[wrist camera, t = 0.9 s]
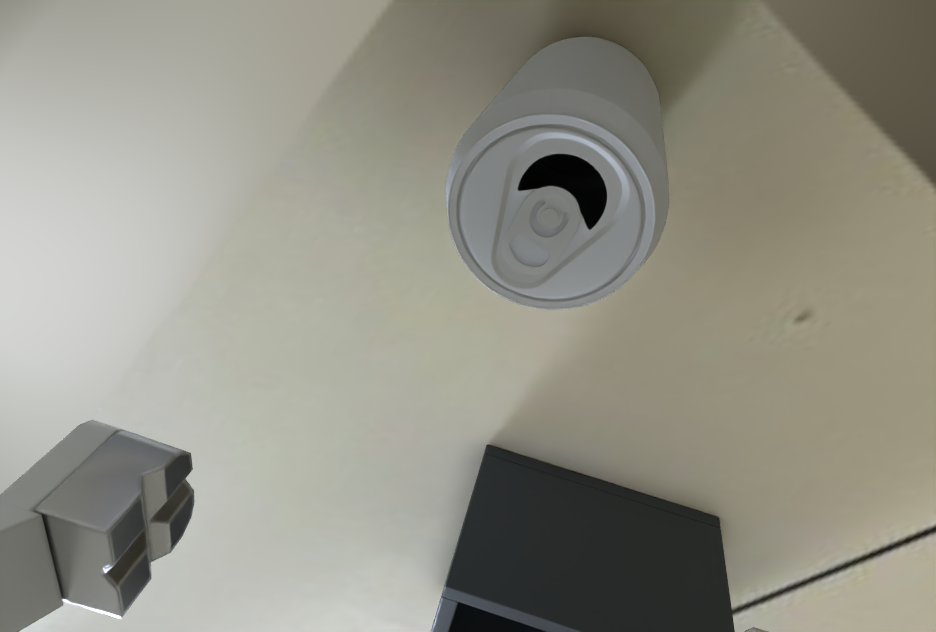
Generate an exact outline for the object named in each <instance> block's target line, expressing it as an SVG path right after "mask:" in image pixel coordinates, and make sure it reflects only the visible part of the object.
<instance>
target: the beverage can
mask: <svg viewBox="0 0 936 632" xmlns="http://www.w3.org/2000/svg"><path fill="white" fill-rule="evenodd" d="M446 205H447V212H448V222H449V228H450V232H451V236H452V239H453V242H454V245H455V247H456V249H457V251H458V253H459V255H460V257H461V259H462V260H463V262H464V263H465V265H466V266H467V267H468V269H469V270H470V271H471V272H472V274H473V275H474V276H475V277H476V278H477V279H478V280H479V281H480V282H481V283H482V284H484V285H485V286H486V287H487V288H489V289H490V290H491V291H493V292H495V293H496V294H498V295H499V296H501V297H503V298H505V299H507V300H509V301H512V302H514V303H516V304H520V305H523V306H527V307H531V308H536V309H545V310H564V309H572V308H577V307H582V306H585V305H588V304H591V303H594V302H596V301H599V300H601V299H603V298H605V297H607V296H608V295H610V294H612V293H613V292H615V291H616V290H617V289H619V288H620V287H621V286H622V285H623V284H625V283H626V282H627V281H628V280H629V279H630V278H631V277H632V276H633V274H634V273H635V272H636V271H637V270H638V269H639V268H640V267H641V266H642V265H643V264H644V262H645V261H646V260H647V259H648V258H649V256H650V255H651V253H652V252H653V250H654V249H655V247H656V245H657V243H658V241H659V239H660V237H661V235H662V232H663V229H664V226H665V223H666V219H667V214H668V208H669V182H668V173H667V163H666V154H665V144H664V135H663V125H662V116H661V106H660V100H659V95H658V91H657V88H656V86H655V83H654V81H653V79H652V77H651V76H650V74H649V72H648V70H647V68H646V67H645V66H644V65H643V63H642V62H641V61H640V60H639V59H638V58H637V57H636V56H635V55H634V54H632V53H631V52H630V51H628V50H627V49H625V48H624V47H622V46H620V45H618V44H616V43H614V42H611V41H608V40H605V39H601V38H596V37H575V38H568V39H564V40H561V41H558V42H555V43H553V44H551V45H549V46H547V47H545V48H543V49H541V50H540V51H538V52H537V53H536V54H534V55H533V56H532V57H531V58H530V59H529V60H528V61H527V62H526V63H525V64H524V65H523V66H522V67H521V68H520V70H519V71H518V72H517V73H516V74H515V75H514V77H513V78H512V79H511V80H510V81H509V82H508V84H507V85H506V86H505V87H504V88H503V89H502V90H501V92H500V93H499V94H498V95H497V96H496V97H495V99H494V100H493V101H492V102H491V103H490V104H489V106H488V107H487V108H486V109H485V110H484V111H483V112H482V114H481V115H480V116H479V117H478V118H477V119H476V121H475V122H474V123H473V124H472V125H471V126H470V128H469V129H468V130H467V131H466V132H465V134H464V135H463V137H462V139H461V140H460V142H459V144H458V145H457V147H456V149H455V152H454V154H453V157H452V160H451V163H450V166H449V170H448V174H447V181H446Z"/></svg>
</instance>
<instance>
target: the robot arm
mask: <svg viewBox="0 0 936 632" xmlns="http://www.w3.org/2000/svg"><path fill="white" fill-rule="evenodd" d="M192 470H193V468H192V459H191V453H189V452H186V451H184V450H181V449H178V448H175V447H172V446H169V445H166V444H163V443H160V442H157V441H155V440H152V439H149V438H146V437H143V436H140V435H137V434H134V433H131V432H128V431H125V430H122V429H119V428H116V427H113V426H110V425H107V424H104V423H101V422H98V421H95V420H90V421H88V422H85V423H83V424H80V425H79V426H77V427H76V428H75V429H74V430H73V431H72V432H71V433H70V434H69V435H67V436H66V437H65V438H64V439H63V440H62V441H60V442H59V443H58V444H57V445H56V446H55V447H54V448H53V449H51V450H50V451H49V452H48V453H47V454H46V455H45V456H44V457H42V458H41V459H40V460H39V461H38V462H37V463H36V464H35V465H33V466H32V467H31V468H30V469H29V470H28V471H27V472H25V473H24V474H23V475H22V476H21V477H20V478H19V479H18V480H16V481H15V482H14V483H13V484H12V485H11V486H10V487H9V488H7V489H6V490H5V491H4V492H3V493H2V494H1V495H0V632H19V631H20V630H22V629H24V628H25V627H27V626H29V625H31V624H32V623H34V622H36V621H37V620H39V619H41V618H42V617H44V616H46V615H47V614H49V613H51V612H53V611H54V610H56V609H58V608H59V607H61V606H63V601H65V602H68V603H71V604H74V605H78V606H81V607H84V608H87V609H91V610H94V611H97V612H100V613H104V614H107V615H110V616H113V617H117V618H120V619H121V618H122V617H123V615H124V614H125V613H126V611H127V610H128V609H129V607H130V606H131V605H132V603H133V602H134V601H135V599H136V598H137V597H138V595H139V594H140V593H141V591H142V590H143V589H144V588H145V586H146V585H147V584H148V582H149V581H150V580H151V562H152V561H154V560H156V559H158V558H160V557H163V556H165V555H167V554H169V553H171V551H172V550H173V549H174V547H175V546H176V544H177V543H178V542H179V540H180V539H181V537H182V536H183V534H184V532H185V529H186V527H187V525H188V523H189V521H190V519H191V516H192V511H193V506H194V490H193V489H192V487H191V486H190V485H189V483H188V482H187V481H186V479H185V478H186V477H187V476H188V475H189V473H190V472H191V471H192ZM745 632H768V631H765V630H761V629H758V628H755V627H753V628H751V629H748V630H746V631H745Z"/></svg>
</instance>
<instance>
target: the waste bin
mask: <svg viewBox="0 0 936 632" xmlns="http://www.w3.org/2000/svg"><path fill="white" fill-rule="evenodd" d="M431 632H735V631H734V624H733V616H732V609H731V602H730V594H729V587H728V579H727V572H726V565H725V557H724V550H723V543H722V535H721V529H720V520H719V518H718V517H715V516H711V515H708V514H705V513H702V512H699V511H695V510H692V509H689V508H686V507H683V506H680V505H676V504H673V503H670V502H667V501H664V500H661V499H657V498H654V497H651V496H648V495H645V494H642V493H638V492H635V491H632V490H629V489H626V488H623V487H619V486H616V485H613V484H610V483H607V482H604V481H600V480H597V479H594V478H591V477H588V476H585V475H581V474H578V473H575V472H572V471H569V470H566V469H562V468H559V467H556V466H553V465H550V464H547V463H543V462H540V461H537V460H534V459H531V458H528V457H524V456H521V455H518V454H515V453H512V452H508V451H505V450H502V449H499V448H496V447H493V446H489V445H487V446H486V450H485V453H484V456H483V460H482V463H481V466H480V470H479V473H478V476H477V480H476V483H475V486H474V490H473V493H472V496H471V500H470V503H469V506H468V509H467V513H466V516H465V519H464V523H463V526H462V529H461V533H460V536H459V539H458V543H457V546H456V549H455V553H454V556H453V559H452V563H451V566H450V569H449V572H448V576H447V579H446V582H445V586H444V589H443V592H442V596H441V599H440V603H439V606H438V609H437V613H436V616H435V619H434V623H433V626H432V629H431Z"/></svg>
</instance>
